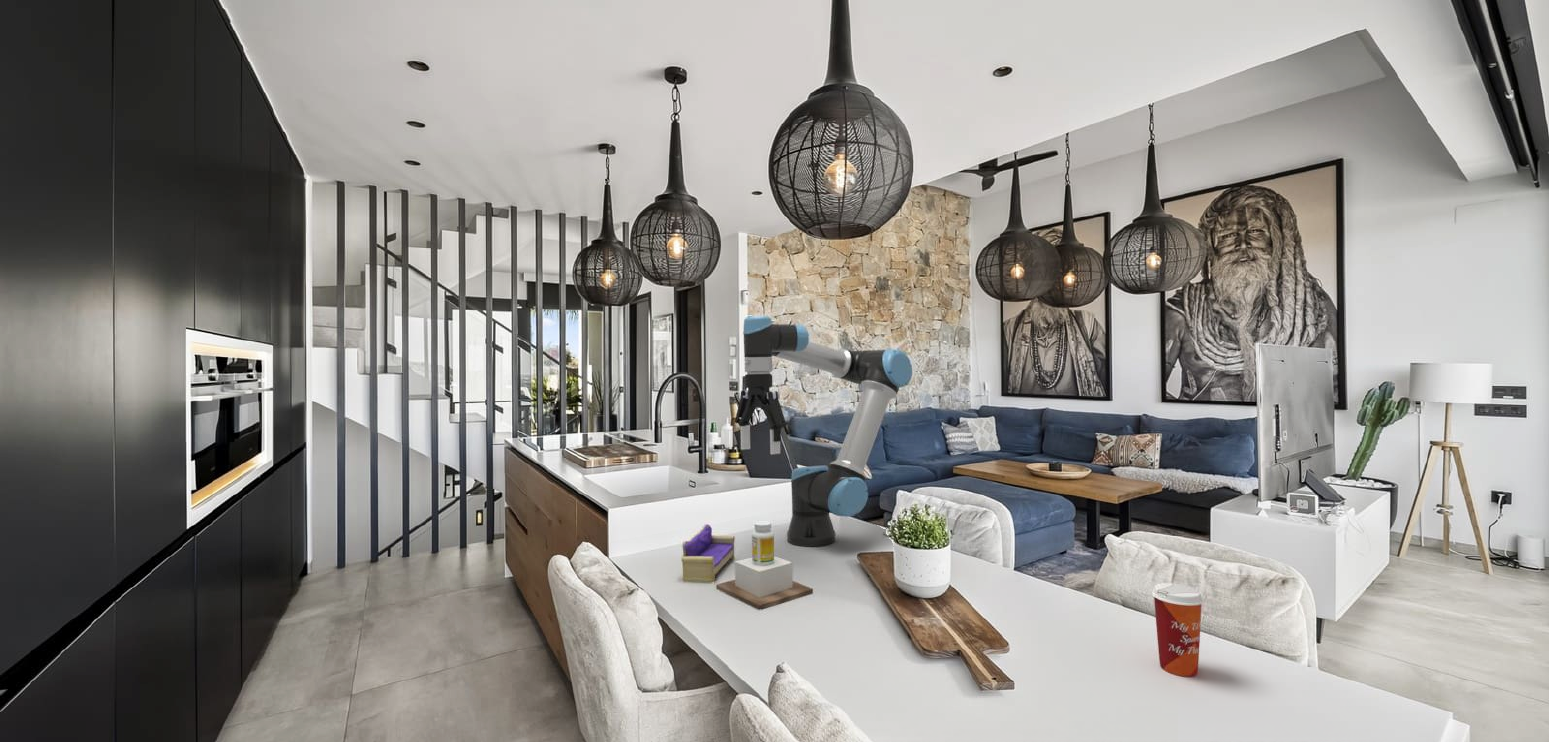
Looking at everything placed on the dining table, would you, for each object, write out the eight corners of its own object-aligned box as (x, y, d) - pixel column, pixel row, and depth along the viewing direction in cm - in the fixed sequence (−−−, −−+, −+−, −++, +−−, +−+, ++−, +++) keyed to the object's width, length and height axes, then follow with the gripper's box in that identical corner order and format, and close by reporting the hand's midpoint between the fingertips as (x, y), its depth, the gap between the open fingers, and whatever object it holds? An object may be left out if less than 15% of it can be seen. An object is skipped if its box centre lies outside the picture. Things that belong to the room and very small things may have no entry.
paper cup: (1181, 683, 105) (1179, 600, 105) (1142, 662, 113) (1141, 585, 113) (1216, 675, 108) (1215, 594, 108) (1176, 656, 115) (1175, 580, 115)
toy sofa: (713, 584, 159) (712, 544, 159) (681, 582, 161) (680, 543, 161) (736, 559, 179) (735, 523, 179) (707, 558, 181) (706, 522, 181)
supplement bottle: (748, 564, 152) (747, 524, 152) (758, 557, 157) (757, 519, 157) (769, 566, 149) (768, 526, 149) (777, 560, 154) (777, 521, 154)
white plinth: (767, 577, 160) (767, 553, 160) (792, 587, 152) (792, 562, 152) (735, 586, 154) (734, 561, 154) (759, 597, 146) (759, 571, 146)
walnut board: (767, 574, 165) (767, 570, 165) (812, 593, 151) (812, 589, 151) (716, 588, 155) (716, 584, 155) (759, 610, 141) (759, 605, 141)
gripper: (721, 373, 177) (723, 448, 178) (775, 373, 158) (777, 457, 158) (743, 373, 182) (744, 446, 182) (798, 372, 162) (800, 454, 162)
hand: (760, 451), depth 170 cm, fingers open, 13 cm apart
